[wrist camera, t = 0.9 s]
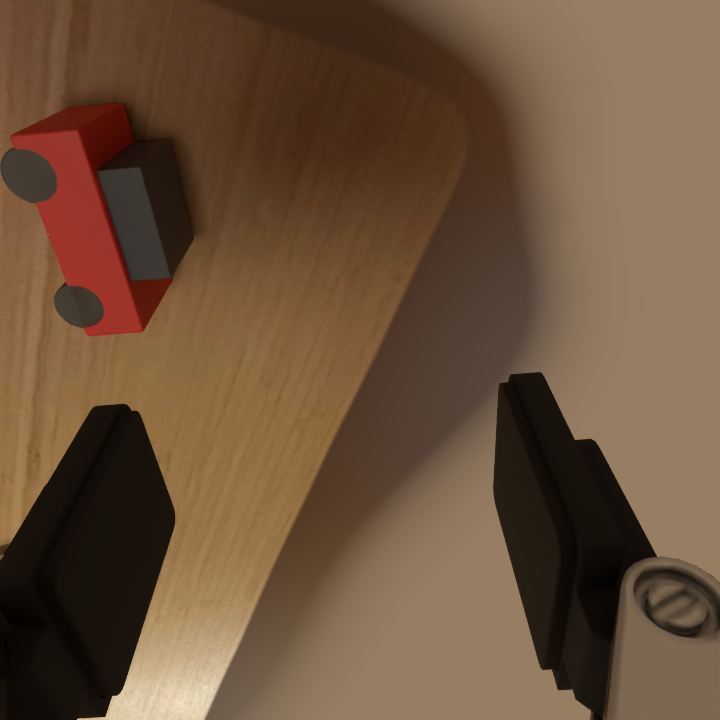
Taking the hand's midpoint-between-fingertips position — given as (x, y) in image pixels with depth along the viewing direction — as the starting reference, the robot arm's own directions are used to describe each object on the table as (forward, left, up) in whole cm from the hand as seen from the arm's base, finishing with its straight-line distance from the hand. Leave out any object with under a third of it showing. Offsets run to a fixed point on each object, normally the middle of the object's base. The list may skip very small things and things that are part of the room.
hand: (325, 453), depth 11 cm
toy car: (0, -9, -18) cm, 20 cm away
